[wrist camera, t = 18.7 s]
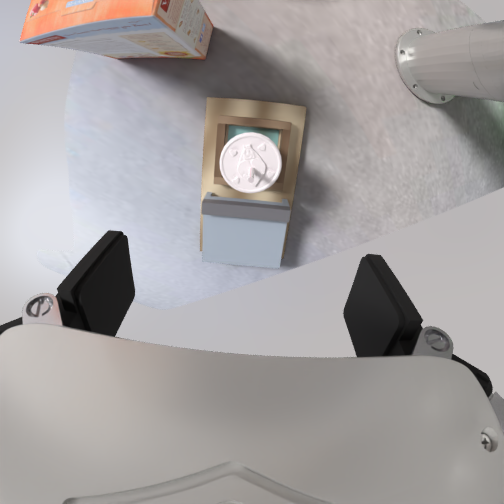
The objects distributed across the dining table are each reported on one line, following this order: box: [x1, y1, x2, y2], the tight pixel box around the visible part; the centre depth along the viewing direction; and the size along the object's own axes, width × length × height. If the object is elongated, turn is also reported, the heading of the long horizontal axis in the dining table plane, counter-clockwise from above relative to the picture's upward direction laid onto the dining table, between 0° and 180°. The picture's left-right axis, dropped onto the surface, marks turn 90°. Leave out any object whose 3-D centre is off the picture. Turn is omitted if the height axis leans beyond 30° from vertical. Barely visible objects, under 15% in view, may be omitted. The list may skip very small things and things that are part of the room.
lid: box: [201, 192, 291, 269], centre depth 39 cm, size 11×10×4 cm
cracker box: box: [19, 0, 213, 60], centre depth 20 cm, size 14×6×21 cm, turn 79°
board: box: [200, 97, 306, 259], centre depth 38 cm, size 13×23×3 cm, turn 174°
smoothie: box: [220, 132, 282, 193], centre depth 30 cm, size 6×6×14 cm
